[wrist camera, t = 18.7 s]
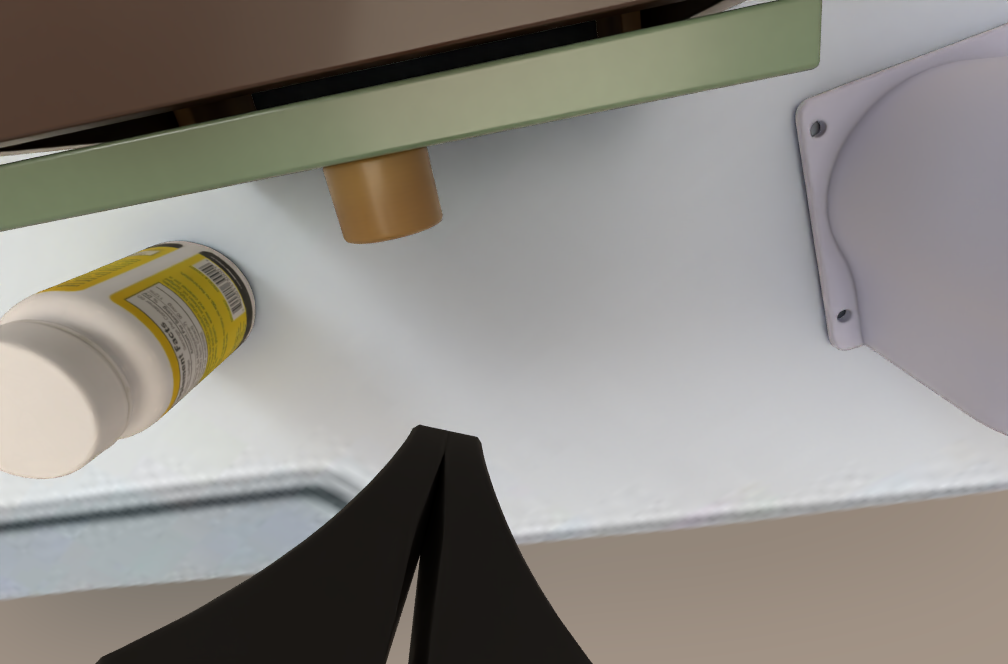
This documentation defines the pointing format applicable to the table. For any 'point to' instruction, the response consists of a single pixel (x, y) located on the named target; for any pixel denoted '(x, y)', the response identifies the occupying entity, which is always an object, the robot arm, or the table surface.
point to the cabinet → (235, 52)
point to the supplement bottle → (113, 353)
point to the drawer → (412, 121)
